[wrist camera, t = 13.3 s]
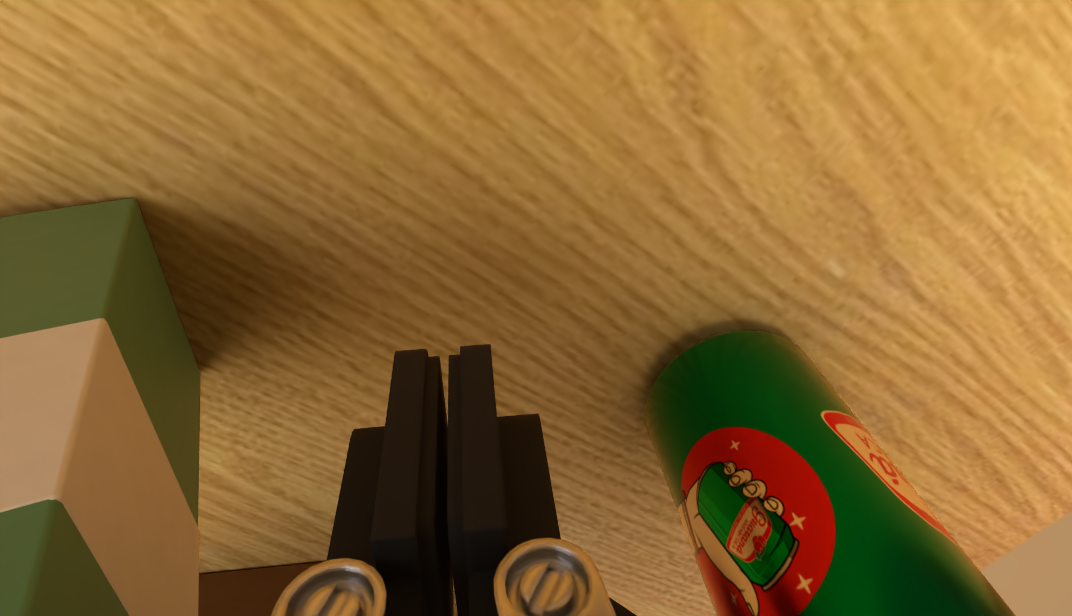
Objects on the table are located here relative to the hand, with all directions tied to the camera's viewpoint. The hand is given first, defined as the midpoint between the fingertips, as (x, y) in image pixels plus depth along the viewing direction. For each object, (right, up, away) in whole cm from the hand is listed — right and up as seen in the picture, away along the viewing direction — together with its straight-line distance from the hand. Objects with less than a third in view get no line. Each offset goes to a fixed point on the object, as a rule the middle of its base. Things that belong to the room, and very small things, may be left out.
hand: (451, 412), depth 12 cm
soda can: (+7, 0, +8) cm, 11 cm away
